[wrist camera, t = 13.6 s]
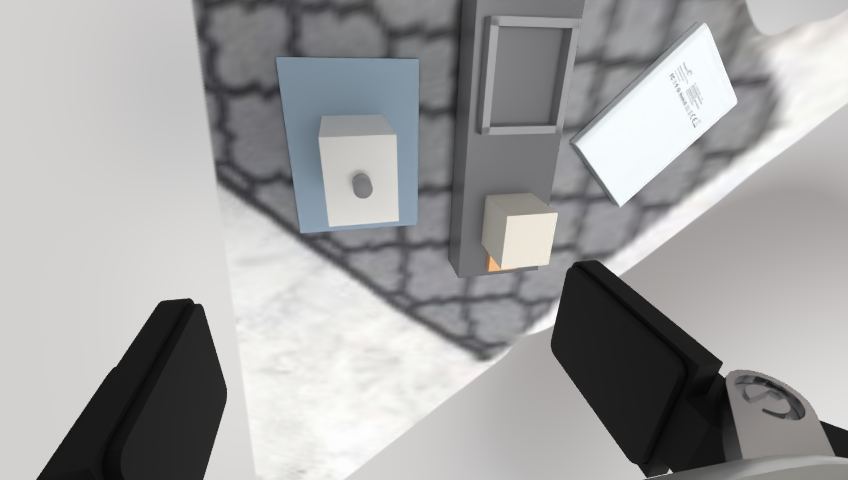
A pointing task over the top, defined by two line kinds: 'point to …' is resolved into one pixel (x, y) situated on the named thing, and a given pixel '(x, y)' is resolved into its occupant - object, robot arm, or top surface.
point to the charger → (359, 169)
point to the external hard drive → (657, 116)
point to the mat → (348, 95)
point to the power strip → (509, 131)
